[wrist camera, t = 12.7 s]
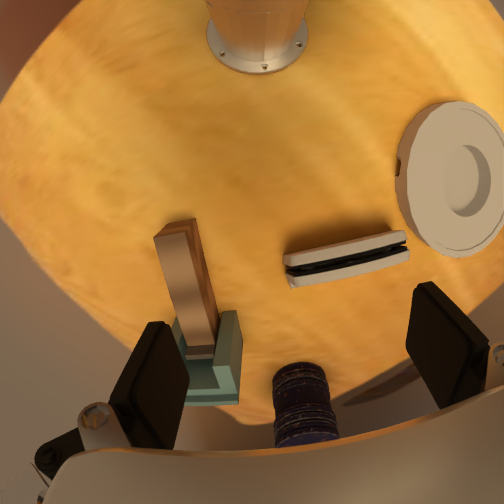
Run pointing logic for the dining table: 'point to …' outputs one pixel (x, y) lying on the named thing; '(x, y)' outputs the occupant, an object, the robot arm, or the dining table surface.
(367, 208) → the dining table surface
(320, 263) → the grey layered block
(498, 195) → the ashtray
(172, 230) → the brown wooden block
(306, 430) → the storage jar
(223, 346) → the u-shaped channel piece
